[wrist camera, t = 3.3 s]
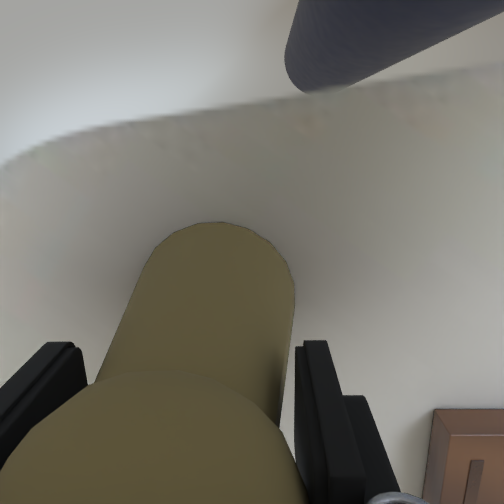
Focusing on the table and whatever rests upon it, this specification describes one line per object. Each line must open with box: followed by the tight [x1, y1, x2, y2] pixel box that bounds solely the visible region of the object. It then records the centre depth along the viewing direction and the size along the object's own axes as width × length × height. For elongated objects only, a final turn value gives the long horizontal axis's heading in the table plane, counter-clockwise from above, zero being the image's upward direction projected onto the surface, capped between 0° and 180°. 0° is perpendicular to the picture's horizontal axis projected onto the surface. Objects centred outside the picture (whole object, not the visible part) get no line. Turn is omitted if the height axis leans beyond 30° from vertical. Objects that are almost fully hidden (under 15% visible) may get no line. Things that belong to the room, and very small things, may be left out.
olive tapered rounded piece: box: [0, 222, 310, 504], centre depth 10 cm, size 6×6×11 cm
